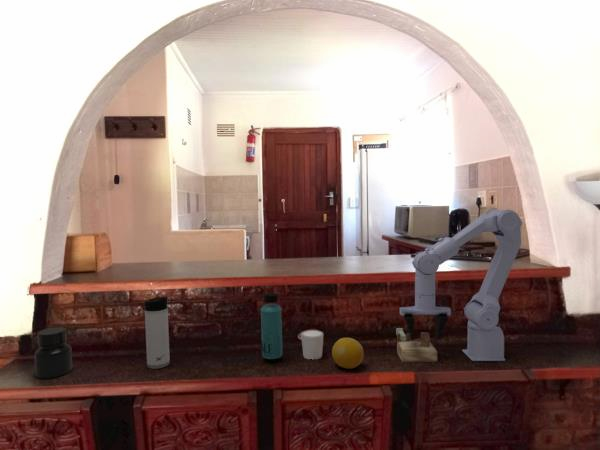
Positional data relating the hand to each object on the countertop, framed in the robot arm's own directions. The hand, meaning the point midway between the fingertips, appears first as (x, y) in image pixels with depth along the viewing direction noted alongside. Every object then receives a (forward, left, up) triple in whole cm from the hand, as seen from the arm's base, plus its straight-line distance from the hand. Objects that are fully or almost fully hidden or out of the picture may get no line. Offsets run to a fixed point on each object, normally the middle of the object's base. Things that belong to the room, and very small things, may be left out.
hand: (424, 338), depth 118 cm
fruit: (+23, +6, -6) cm, 25 cm away
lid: (+2, 0, -3) cm, 4 cm away
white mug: (+33, -2, -6) cm, 34 cm away
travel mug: (+78, +4, -6) cm, 79 cm away
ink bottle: (+106, +9, -6) cm, 107 cm away
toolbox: (+2, 0, -6) cm, 6 cm away
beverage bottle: (+45, +1, -6) cm, 46 cm away
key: (+5, -7, -2) cm, 9 cm away
